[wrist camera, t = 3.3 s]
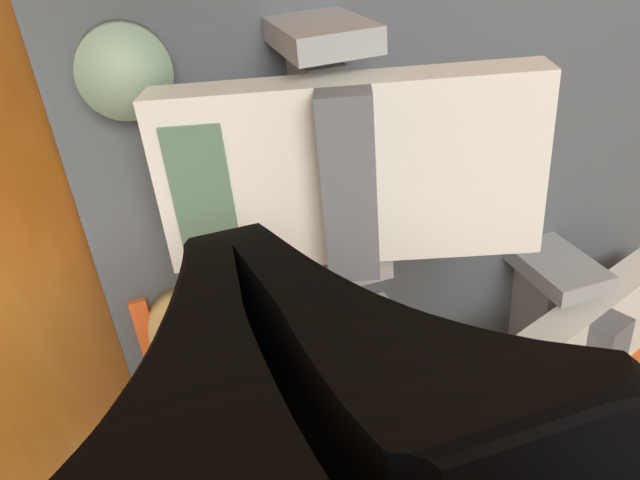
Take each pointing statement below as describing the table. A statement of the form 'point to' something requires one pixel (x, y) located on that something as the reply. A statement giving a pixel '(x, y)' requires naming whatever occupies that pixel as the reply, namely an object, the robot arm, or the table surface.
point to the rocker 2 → (599, 316)
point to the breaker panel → (331, 56)
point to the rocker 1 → (359, 160)
